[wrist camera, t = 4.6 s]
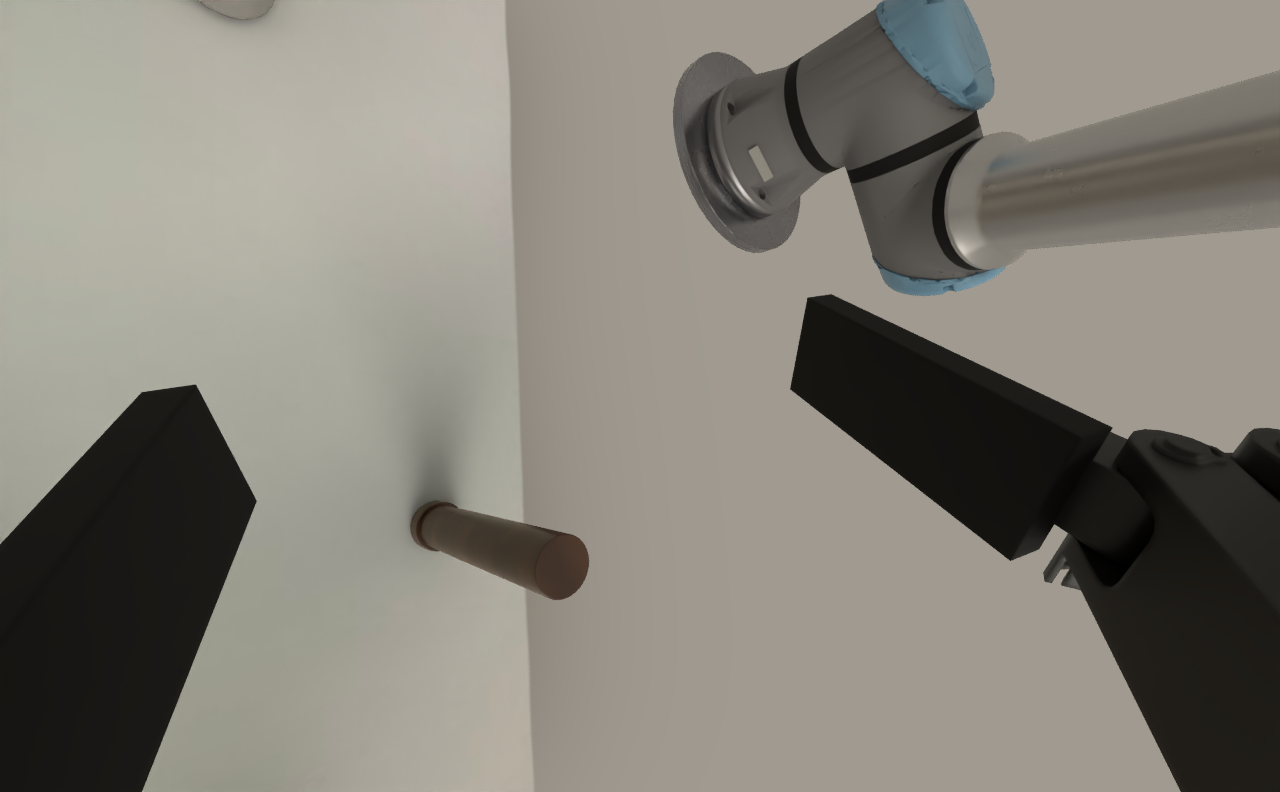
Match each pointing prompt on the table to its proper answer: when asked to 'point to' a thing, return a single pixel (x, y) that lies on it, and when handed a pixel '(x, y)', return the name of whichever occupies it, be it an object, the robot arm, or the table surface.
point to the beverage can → (239, 7)
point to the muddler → (504, 548)
